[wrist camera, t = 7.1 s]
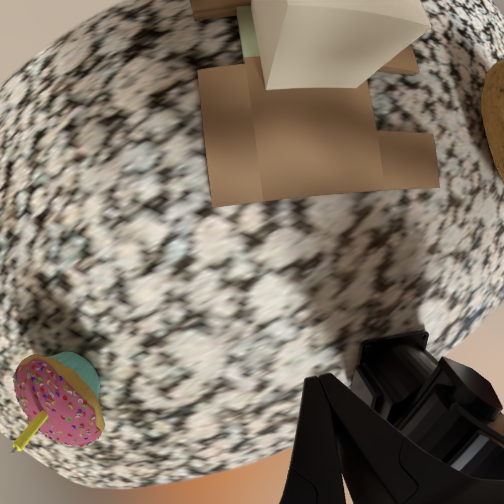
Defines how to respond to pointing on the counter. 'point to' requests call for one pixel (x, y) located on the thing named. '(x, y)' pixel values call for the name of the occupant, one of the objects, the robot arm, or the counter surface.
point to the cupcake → (59, 399)
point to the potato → (494, 113)
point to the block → (332, 39)
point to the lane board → (299, 131)
